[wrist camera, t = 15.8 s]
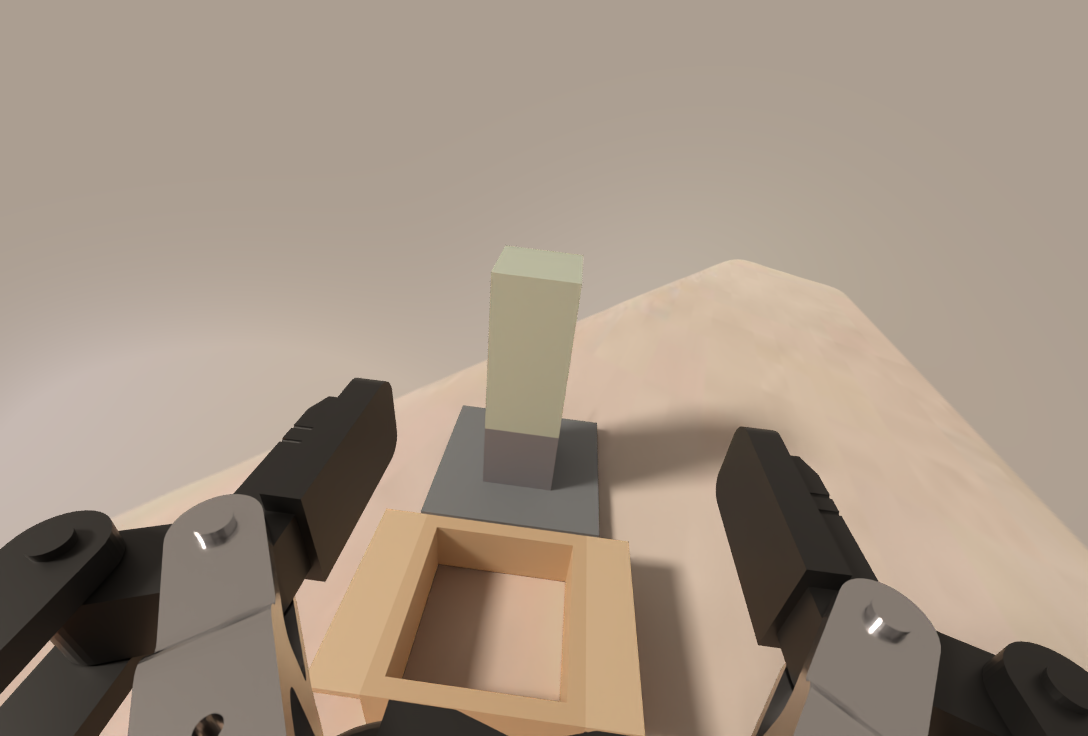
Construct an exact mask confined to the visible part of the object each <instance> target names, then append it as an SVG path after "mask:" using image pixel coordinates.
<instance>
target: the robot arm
mask: <svg viewBox="0 0 1088 736" xmlns="http://www.w3.org/2000/svg"><path fill="white" fill-rule="evenodd" d="M396 442H397V429H396V420H395V411H394V403H393V395H392V388H391V385H390V383H389V382H386V381H378V380H370V379H362V378H354V379H353V380H352V381H351V382H350V383H349V384H348V385H347V387H346V388H345V389H344V390H343V391H342V393H341V394H340V395H339V396H338V397H327V398H325V399H324V400H322V401H321V402H319V403H317V404H316V405H314V406H312V407H310V408H309V409H308V410H307V411H306V412H305V413H304V414H303V415H302V417H301V418H300V419H299V420H298V421H297V422H296V423H295V424H294V428H291V429H290V430H289V431H288V432H287V433H286V435H285V436H284V437H283V440H282V442H279V443H278V444H277V445H276V446H275V447H274V448H273V449H272V451H271V452H270V453H269V454H268V455H267V456H266V457H265V459H264V460H263V461H262V462H261V463H260V464H259V465H258V467H257V468H256V469H255V470H254V471H253V472H252V473H251V474H250V476H249V477H248V478H247V479H246V480H245V481H244V482H243V484H242V485H241V486H240V487H239V488H238V489H237V490H236V492H235V493H234V494H229V495H223V496H219V497H215V498H212V499H209V500H206V501H204V502H202V503H200V504H198V505H196V506H194V507H192V508H191V509H189V510H188V511H186V512H185V513H183V514H182V515H181V516H180V517H179V518H178V519H177V520H176V521H175V522H174V523H173V524H168V525H160V526H153V527H145V528H137V529H130V530H122V531H118V530H117V529H116V527H115V525H114V524H113V522H112V521H111V519H110V518H109V517H108V516H107V515H106V514H104V513H101V512H98V511H86V510H85V511H76V512H71V513H66V514H63V515H59V516H56V517H53V518H51V519H48V520H45V521H43V522H41V523H39V524H36V525H35V526H33V527H31V528H29V529H27V530H26V531H24V532H22V533H21V534H20V535H18V536H16V537H15V538H14V539H12V540H11V541H10V542H9V543H7V544H6V545H5V546H4V547H2V548H1V549H0V694H1V693H2V692H3V691H4V689H5V688H6V687H7V686H8V685H9V684H10V683H11V682H12V681H13V680H14V678H15V677H16V676H17V675H18V674H19V673H20V672H21V671H22V670H23V669H24V668H25V666H26V665H27V664H28V663H29V662H30V661H31V660H32V659H33V658H34V657H35V655H36V654H37V653H38V652H39V651H40V650H41V649H42V648H43V647H44V646H45V645H46V643H47V642H48V641H49V640H50V641H51V642H52V643H53V644H54V645H55V646H54V647H53V649H52V650H51V651H50V652H49V653H48V654H47V655H46V656H45V657H44V659H43V660H42V661H41V662H40V663H39V664H38V665H37V666H36V668H35V669H34V670H33V671H32V672H31V673H30V674H29V675H28V676H27V678H26V679H25V680H24V681H23V682H22V683H21V684H20V685H19V687H18V688H17V689H16V690H15V691H14V692H13V693H12V694H11V695H10V697H9V698H8V699H7V700H6V701H5V702H4V703H3V704H2V706H1V707H0V736H99V735H100V733H101V732H102V730H103V729H104V727H105V726H106V725H107V723H108V722H109V720H110V719H111V718H112V716H113V715H114V713H115V712H116V710H117V709H118V708H119V706H120V705H121V703H122V702H123V701H124V699H125V698H126V696H127V695H128V693H129V692H130V691H131V689H132V688H133V689H132V698H131V708H130V718H129V728H128V736H323V731H322V727H321V722H320V718H319V714H318V711H317V707H316V704H315V700H314V696H313V691H312V687H311V681H310V675H309V670H308V664H307V658H306V653H305V647H304V641H303V636H302V630H301V624H300V619H299V613H298V607H297V602H296V598H295V594H296V593H297V591H298V589H299V588H300V586H301V584H302V582H303V581H304V579H309V580H316V581H324V582H325V581H326V579H327V577H328V576H329V574H330V572H331V570H332V568H333V566H334V564H335V563H336V561H337V559H338V557H339V555H340V553H341V552H342V550H343V548H344V546H345V544H346V542H347V540H348V539H349V537H350V535H351V533H352V531H353V529H354V528H355V526H356V524H357V522H358V520H359V518H360V516H361V515H362V513H363V511H364V509H365V507H366V505H367V503H368V502H369V500H370V498H371V496H372V494H373V492H374V491H375V489H376V487H377V485H378V483H379V481H380V479H381V478H382V476H383V474H384V472H385V470H386V468H387V467H388V465H389V463H390V461H391V459H392V457H393V454H394V451H395V447H396ZM829 496H830V495H829V493H828V491H827V489H826V488H825V486H824V484H823V482H822V481H821V479H820V477H819V475H818V474H817V473H816V472H815V471H814V470H813V469H812V468H810V467H809V466H808V465H807V464H806V463H805V462H804V461H803V460H802V459H801V458H800V457H798V456H790V454H789V452H788V450H787V448H786V446H785V444H784V442H783V440H782V438H781V437H780V435H779V433H778V432H776V431H773V430H765V429H757V428H749V427H739V428H738V429H737V430H736V432H735V434H734V436H733V439H732V441H731V444H730V446H729V449H728V451H727V454H726V456H725V459H724V461H723V464H722V466H721V469H720V471H719V474H718V477H717V483H716V498H717V503H718V507H719V510H720V514H721V517H722V521H723V524H724V528H725V531H726V535H727V538H728V542H729V545H730V549H731V552H732V556H733V559H734V563H735V566H736V570H737V573H738V577H739V580H740V584H741V587H742V591H743V594H744V597H745V601H746V604H747V608H748V611H749V615H750V618H751V622H752V625H753V629H754V632H755V636H756V639H757V643H758V645H762V646H769V647H776V648H781V650H782V653H783V656H784V659H785V662H786V663H785V664H784V665H783V667H782V668H781V670H780V672H779V674H778V677H777V679H776V681H775V683H774V686H773V688H772V690H771V692H770V695H769V697H768V699H767V702H766V704H765V706H764V708H763V711H762V713H761V715H760V717H759V720H758V722H757V724H756V726H755V729H754V731H753V733H752V735H751V736H1088V672H1087V671H1085V670H1084V669H1083V668H1081V667H1080V666H1078V665H1077V664H1075V663H1074V662H1072V661H1071V660H1069V659H1068V658H1066V657H1064V656H1063V655H1061V654H1059V653H1057V652H1055V651H1053V650H1051V649H1049V648H1046V647H1043V646H1041V645H1038V644H1034V643H1030V642H1022V641H1021V642H1013V643H1011V644H1009V645H1008V646H1006V647H1005V648H1004V649H1003V650H1002V651H1000V652H999V653H998V654H997V655H994V654H991V653H989V652H986V651H984V650H981V649H979V648H977V647H974V646H972V645H969V644H967V643H964V642H962V641H959V640H957V639H954V638H952V637H950V636H947V635H945V634H942V633H940V632H938V631H936V630H935V628H934V627H933V625H932V623H931V622H930V620H929V619H928V618H927V616H926V615H925V614H924V613H923V612H922V611H921V610H920V609H919V608H918V607H917V606H916V605H915V604H914V603H913V602H912V601H911V600H909V599H908V598H907V597H905V596H904V595H903V594H901V593H900V592H898V591H897V590H895V589H893V588H891V587H889V586H887V585H885V584H883V583H880V582H878V580H877V578H876V576H875V575H874V573H873V571H872V569H871V567H870V566H869V564H868V562H867V560H866V559H865V557H864V555H863V553H862V552H861V550H860V548H859V546H858V544H857V543H856V541H855V539H854V537H853V536H852V534H851V532H850V530H849V528H848V527H847V525H846V523H845V521H844V520H843V518H842V516H839V511H838V509H837V507H836V505H835V504H834V502H833V500H832V499H830V498H829ZM337 736H508V735H506V734H504V733H502V732H500V731H498V730H496V729H494V728H492V727H490V726H488V725H486V724H484V723H482V722H480V721H478V720H476V719H474V718H472V717H470V716H468V715H466V714H464V713H462V712H460V711H458V710H456V709H449V708H442V707H436V706H429V705H423V704H416V703H409V702H403V701H396V700H389V701H388V704H387V707H386V710H385V713H384V716H383V719H382V721H377V722H372V723H368V724H365V725H362V726H359V727H356V728H353V729H351V730H348V731H346V732H344V733H342V734H340V735H337ZM569 736H629V735H622V734H615V733H609V732H602V731H592V732H586V733H580V734H575V735H569Z"/></svg>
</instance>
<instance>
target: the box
mask: <svg viewBox="0 0 1088 736" xmlns="http://www.w3.org/2000/svg"><path fill="white" fill-rule="evenodd" d="M582 272H583V255H578V254H569V253H561V252H554V251H545V250H537V249H529V248H522V247H513V246H505V248H504V250H503V251H502V253H501V255H500V257H499V259H498V261H497V262H496V264H495V266H494V268H493V270H492V272H491V290H490V314H489V339H488V364H487V389H486V414H485V439H484V464H483V481H484V482H491V483H498V484H506V485H513V486H520V487H527V488H535V489H542V490H549V491H551V486H552V479H553V472H554V466H555V459H556V452H557V446H558V439H559V433H560V426H561V419H562V413H563V406H564V400H565V393H566V386H567V380H568V373H569V367H570V360H571V353H572V347H573V340H574V334H575V327H576V320H577V314H578V307H579V300H580V294H581V286H582V274H583V273H582Z"/></svg>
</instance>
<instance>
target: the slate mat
mask: <svg viewBox="0 0 1088 736" xmlns="http://www.w3.org/2000/svg"><path fill="white" fill-rule="evenodd" d="M485 414H486V408H479V407H471V406H464V405H463V407H462V409H461V412H460V414H459V417H458V419H457V422H456V425H455V427H454V430H453V432H452V435H451V437H450V440H449V442H448V445H447V447H446V450H445V452H444V455H443V457H442V460H441V462H440V465H439V467H438V470H437V472H436V475H435V477H434V480H433V482H432V485H431V487H430V490H429V492H428V495H427V497H426V500H425V502H424V505H423V507H422V510H421V513H422V514H429V515H437V516H444V517H451V518H459V519H466V520H473V521H481V522H488V523H495V524H503V525H510V526H517V527H525V528H532V529H539V530H547V531H554V532H561V533H568V534H576V535H583V536H590V537H598V538H599V499H598V453H597V423H593V422H585V421H578V420H570V419H563V418H562V419H561V426H560V433H559V439H558V446H557V452H556V459H555V466H554V472H553V479H552V486H551V491H549V490H542V489H535V488H527V487H520V486H513V485H506V484H498V483H491V482H484V481H483V464H484V439H485Z"/></svg>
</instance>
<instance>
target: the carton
mask: <svg viewBox="0 0 1088 736" xmlns="http://www.w3.org/2000/svg"><path fill="white" fill-rule="evenodd" d="M438 564H442V565H449V566H456V567H463V568H470V569H478V570H485V571H492V572H499V573H506V574H514V575H521V576H528V577H535V578H543V579H550V580H557V581H564V582H565V602H564V623H563V644H562V664H561V685H560V702H559V701H552V700H545V699H538V698H531V697H524V696H517V695H510V694H503V693H496V692H489V691H482V690H476V689H469V688H462V687H455V686H448V685H441V684H434V683H427V682H420V681H413V680H406V679H402V677H403V674H404V671H405V668H406V664H407V661H408V658H409V655H410V652H411V649H412V645H413V642H414V639H415V636H416V633H417V630H418V627H419V623H420V620H421V617H422V614H423V611H424V608H425V604H426V601H427V598H428V595H429V592H430V589H431V586H432V582H433V579H434V576H435V573H436V570H437V567H438ZM309 675H310V681H311V687H312V691H313V692H316V693H323V694H330V695H337V696H344V697H351V698H357V699H360V700H361V704H362V708H363V712H364V717H365V721H366V724H368V723H372V722H377V721H382V719H383V716H384V713H385V710H386V707H387V704H388V701H389V700H396V701H403V702H409V703H416V704H423V705H429V706H436V707H442V708H449V709H456V710H458V711H460V712H462V713H464V714H466V715H468V716H470V717H472V718H474V719H476V720H478V721H480V722H482V723H484V724H486V725H488V726H490V727H492V728H494V729H496V730H498V731H500V732H502V733H504V734H506V735H508V736H569V735H575V734H580V733H584V731H585V732H592V731H602V732H609V733H615V734H622V735H629V736H645V728H644V716H643V705H642V693H641V681H640V670H639V658H638V646H637V635H636V623H635V611H634V600H633V588H632V576H631V565H630V553H629V542H627V541H620V540H612V539H605V538H598V537H590V536H583V535H576V534H568V533H561V532H554V531H547V530H539V529H532V528H525V527H517V526H510V525H503V524H495V523H488V522H481V521H473V520H466V519H459V518H451V517H444V516H437V515H429V514H422V513H415V512H407V511H400V510H393V509H386V511H385V513H384V515H383V517H382V519H381V521H380V523H379V525H378V527H377V529H376V531H375V534H374V536H373V538H372V540H371V542H370V544H369V546H368V548H367V550H366V552H365V554H364V556H363V558H362V560H361V563H360V565H359V567H358V569H357V571H356V573H355V575H354V577H353V579H352V581H351V583H350V585H349V587H348V590H347V592H346V594H345V596H344V598H343V600H342V602H341V604H340V606H339V608H338V610H337V612H336V614H335V617H334V619H333V621H332V623H331V625H330V627H329V629H328V631H327V633H326V635H325V637H324V639H323V641H322V643H321V646H320V648H319V650H318V652H317V654H316V656H315V658H314V660H313V662H312V664H311V666H310V668H309Z"/></svg>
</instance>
